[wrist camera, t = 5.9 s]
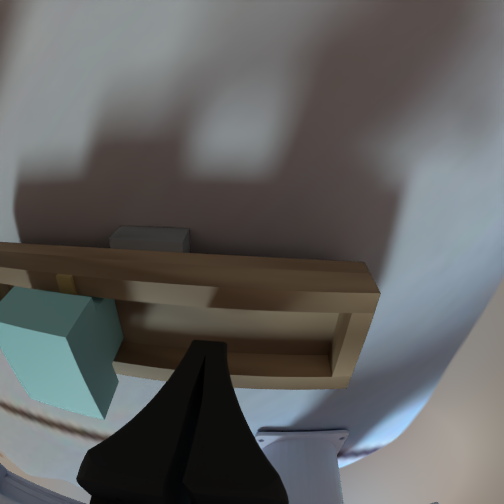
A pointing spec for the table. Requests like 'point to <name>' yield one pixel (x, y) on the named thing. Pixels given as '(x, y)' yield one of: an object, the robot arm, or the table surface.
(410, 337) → the table surface
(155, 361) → the wooden tray
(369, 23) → the table surface
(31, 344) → the block
